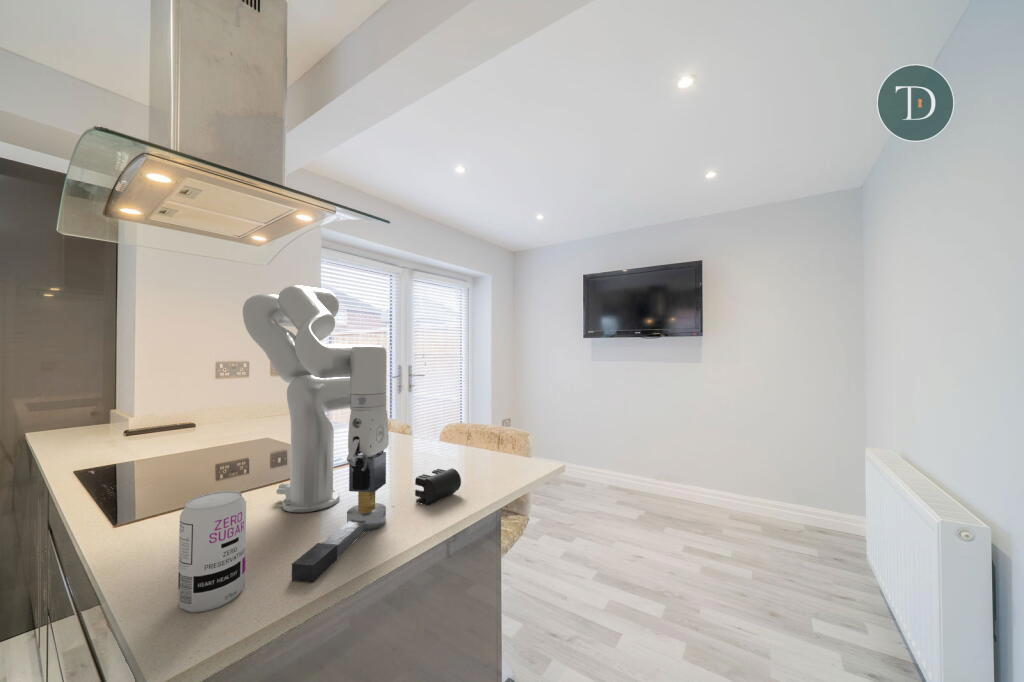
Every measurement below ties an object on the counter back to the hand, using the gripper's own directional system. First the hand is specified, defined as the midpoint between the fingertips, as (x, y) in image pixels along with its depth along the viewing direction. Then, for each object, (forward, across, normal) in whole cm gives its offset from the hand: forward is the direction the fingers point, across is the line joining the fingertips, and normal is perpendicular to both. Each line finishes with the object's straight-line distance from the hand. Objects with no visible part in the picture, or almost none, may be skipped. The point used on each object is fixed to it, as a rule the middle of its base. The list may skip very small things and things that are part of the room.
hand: (367, 483), depth 86 cm
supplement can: (+9, -27, +11) cm, 31 cm away
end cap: (+9, +16, -11) cm, 21 cm away
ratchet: (+9, -9, 0) cm, 12 cm away
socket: (+1, 0, 0) cm, 1 cm away
